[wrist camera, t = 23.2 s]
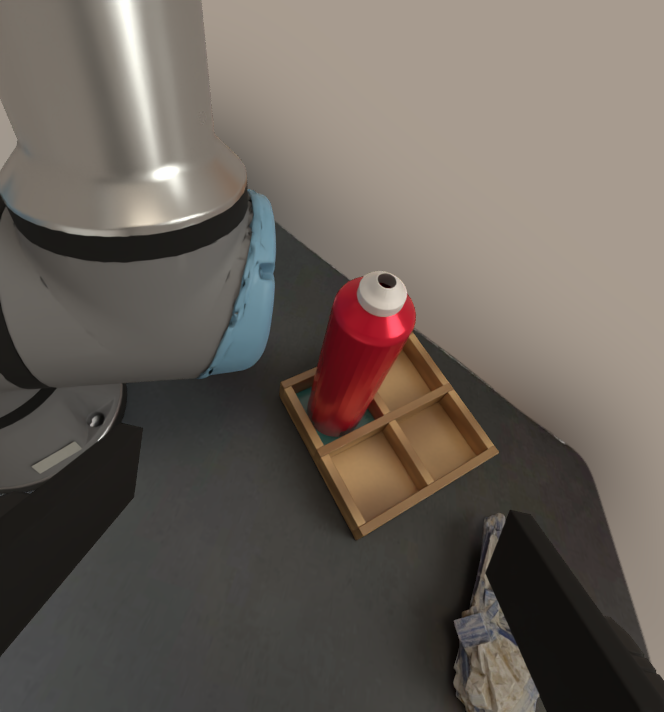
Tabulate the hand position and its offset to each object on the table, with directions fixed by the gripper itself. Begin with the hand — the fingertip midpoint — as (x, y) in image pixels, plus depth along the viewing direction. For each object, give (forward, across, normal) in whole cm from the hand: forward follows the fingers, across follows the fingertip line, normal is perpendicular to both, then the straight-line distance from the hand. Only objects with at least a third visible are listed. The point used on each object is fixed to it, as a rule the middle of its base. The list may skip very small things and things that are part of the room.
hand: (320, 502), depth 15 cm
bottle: (+26, +2, -7) cm, 27 cm away
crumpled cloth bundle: (+16, +18, -18) cm, 30 cm away
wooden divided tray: (+26, +7, -8) cm, 28 cm away
